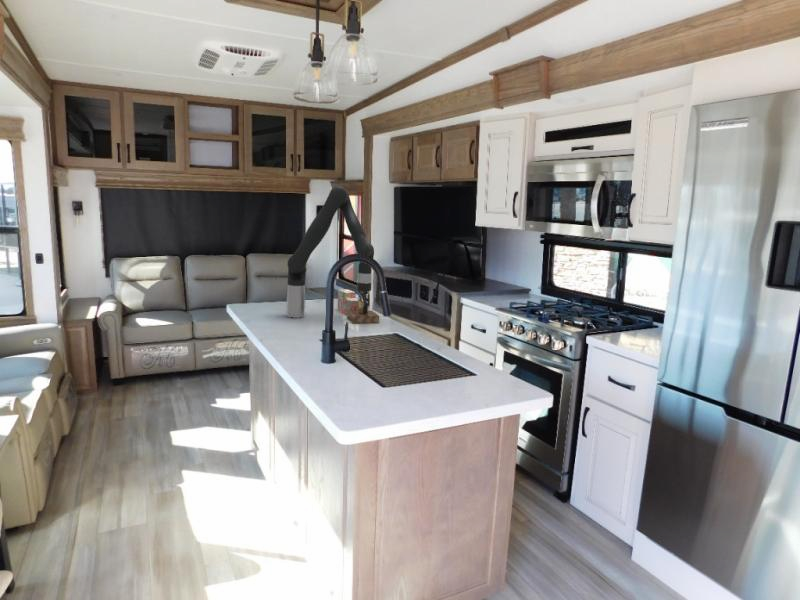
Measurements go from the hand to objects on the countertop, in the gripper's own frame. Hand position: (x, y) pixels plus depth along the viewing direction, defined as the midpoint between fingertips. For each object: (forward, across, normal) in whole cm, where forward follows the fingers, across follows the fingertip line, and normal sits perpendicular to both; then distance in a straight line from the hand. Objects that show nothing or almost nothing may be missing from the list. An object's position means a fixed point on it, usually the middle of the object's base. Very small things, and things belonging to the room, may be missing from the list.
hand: (363, 311), depth 291 cm
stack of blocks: (+5, -20, -4) cm, 21 cm away
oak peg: (+4, 0, 0) cm, 4 cm away
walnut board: (+5, 0, 0) cm, 5 cm away
